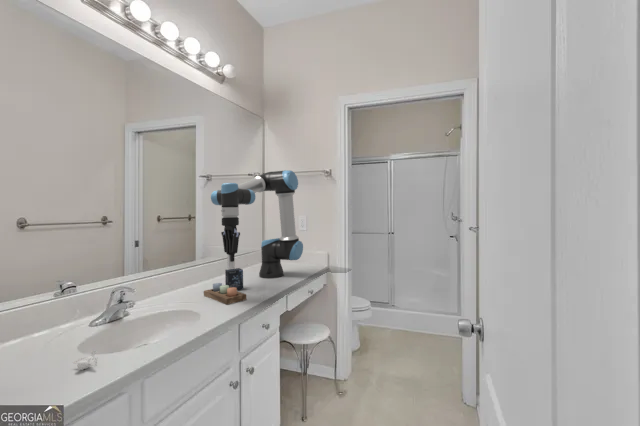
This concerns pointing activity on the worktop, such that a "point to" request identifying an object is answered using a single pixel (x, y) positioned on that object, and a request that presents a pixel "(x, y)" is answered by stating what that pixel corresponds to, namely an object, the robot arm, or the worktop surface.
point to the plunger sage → (224, 289)
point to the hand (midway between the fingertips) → (231, 268)
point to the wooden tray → (224, 297)
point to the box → (234, 278)
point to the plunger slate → (216, 287)
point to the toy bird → (87, 361)
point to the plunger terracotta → (232, 292)
